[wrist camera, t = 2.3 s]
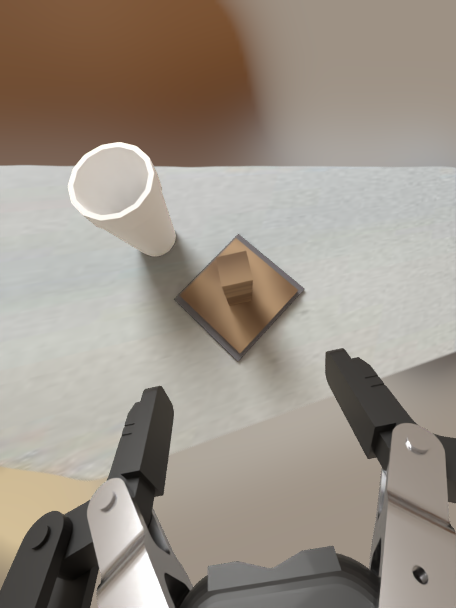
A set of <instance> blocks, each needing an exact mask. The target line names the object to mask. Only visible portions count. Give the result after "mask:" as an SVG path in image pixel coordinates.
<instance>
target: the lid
mask: <svg viewBox="0 0 456 608" xmlns="http://www.w3.org/2000/svg"><path fill="white" fill-rule="evenodd" d="M297 291H298V289H297V288H295V287H294V286H293V285H292V284H291V283H289V282H288V281H287V280H286V279H285V278H283V277H282V276H281V275H280V274H279V273H277V272H276V271H275V270H274V269H273V268H271V267H270V266H269V265H268V264H267V263H265V262H264V261H263V260H262V259H261V258H259V257H258V256H257V255H256V254H255V253H254V252H252V251H251V250H250V249H249V248H248V247H246V246H245V245H244V244H243V243H242V242H240V241H239V240H238V239H237V238H235V239H234V240H233V241H232V242H231V243H230V245H229V246H228V247H227V248H226V249H225V250H224V251H223V252H222V253H221V254H220V255H219V256H218V257H216V259H215V260H214V261H213V262H212V263H211V264H210V265H209V266H208V267H207V268H206V269H205V270H204V271H203V272H202V273H201V274H200V275H199V276H198V277H197V278H196V279H195V280H194V281H193V282H192V283H191V284H190V285H189V286H188V287H187V288H186V289H185V290H184V291H183V292H182V293H181V294H180V296H181V297H182V298H183V299H184V300H185V301H186V302H187V303H188V304H189V305H190V306H191V307H192V308H193V309H194V310H195V311H196V312H197V313H198V314H199V315H200V316H201V317H202V318H204V319H205V320H206V321H207V322H208V323H209V324H210V325H211V326H212V327H213V328H214V329H215V330H216V331H217V332H218V333H219V334H220V335H221V336H222V337H223V338H224V339H225V340H226V341H227V342H228V343H229V344H230V345H232V346H233V347H234V348H235V349H236V350H237V351H238V352H239V353H241V352H242V351H243V350H244V349H245V348H246V347H247V346H248V345H249V343H250V342H251V341H252V340H253V339H254V338H255V337H256V336H257V335H258V334H259V333H260V332H261V330H262V329H263V328H264V327H265V326H266V325H267V324H268V323H269V322H270V321H271V320H272V318H273V317H274V316H275V315H276V314H277V313H278V312H279V311H280V310H281V309H282V308H283V307H284V305H285V304H286V303H287V302H288V301H289V300H290V299H291V298H292V297H293V296H294V295H295V294H296V292H297Z"/></svg>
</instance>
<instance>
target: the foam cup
mask: <svg viewBox="0 0 456 608" xmlns="http://www.w3.org/2000/svg"><path fill="white" fill-rule="evenodd" d="M68 190H69V195H70V199H71V203H72V204H73V205H74V206H75V207H76V208H77V209H78V211H79V212H80V213H81V214H82V215H83V216H84V217H86V218H87V219H88V220H89V221H90V222H92V223H93V224H94V225H95V226H96V227H99V228H102V229H105V230H106V231H108V232H109V233H111V234H113V235H114V236H116V237H118V238H119V239H121V240H123V241H124V242H126V243H128V244H129V245H131V246H132V247H134V248H136V249H137V250H139V251H141V252H142V253H144V254H146V255H149V256H152V257H154V256H162V255H164V254H165V253H167V252H169V251H170V250H171V248H172V247H173V245H174V244H175V239H176V234H175V230H174V227H173V224H172V221H171V218H170V215H169V212H168V209H167V206H166V203H165V200H164V197H163V194H162V187H161V184H160V180H159V177H158V174H157V172H156V170H155V168H154V166H153V164H152V162H151V160H150V158H149V157H148V156H147V155H146V154H145V153H144V152H143V151H141V150H140V149H139V148H138V147H137V146H133V145H129V144H125V143H121V142H118V143H111V144H105V145H101V146H99V147H97V148H95V149H94V150H92V151H90V152H88V153H87V154H85V155H84V156H83V157H82V159H81V160H80V161H79V162H78V163H77V165H76V166H75V167H74V168H73V170H72V173H71V177H70V180H69V184H68Z"/></svg>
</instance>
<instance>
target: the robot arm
mask: <svg viewBox="0 0 456 608" xmlns="http://www.w3.org/2000/svg"><path fill="white" fill-rule="evenodd" d="M325 374H326V379H327V382H328V384H329V386H330V388H331V390H332V392H333V394H334V396H335V398H336V400H337V402H338V403H339V405H340V407H341V409H342V411H343V413H344V415H345V417H346V418H347V420H348V422H349V424H350V426H351V428H352V430H353V432H354V434H355V436H356V437H357V439H358V441H359V443H360V445H361V447H362V449H363V451H364V453H365V455H366V456H367V458H368V459H371V458H377V459H378V461H379V462H380V464H381V466H382V470H381V480H380V488H379V497H378V505H377V514H376V523H375V528H374V534H373V539H372V546H371V555H370V563H369V569H368V568H367V567H365V566H364V565H362V564H361V563H359V562H358V561H356V560H354V559H352V558H350V557H347V556H344V555H341V554H337V553H335V549H334V546H328V547H323V548H316V549H310V550H304V551H301V552H299V553H297V554H296V555H294V556H292V557H291V558H289V559H288V560H286V561H284V562H282V563H281V564H279V565H278V566H276V567H274V568H265V567H261V566H256V565H252V564H247V563H243V562H239V561H236V562H230V563H224V564H218V565H212V566H208V575H207V576H205V577H204V578H203V579H202V580H201V581H199V582H198V583H197V584H196V585H195V586H194V587H193V586H192V584H191V582H190V579H189V577H188V575H187V573H186V572H185V570H184V568H183V566H182V565H181V564H180V562H179V561H178V559H177V558H176V556H175V554H174V552H173V551H172V548H171V546H170V544H169V542H168V539H167V537H166V535H165V533H164V531H163V529H162V527H161V524H160V522H159V520H158V518H157V516H156V514H155V511H154V509H153V508H152V507H153V501H154V497H156V496H162V495H163V494H164V486H165V478H166V471H167V464H168V456H169V449H170V441H171V433H172V426H173V418H174V410H173V405H172V403H171V401H170V399H169V398H168V396H167V394H166V393H165V391H164V389H163V388H162V386H157V387H152V388H148V389H145V390H144V391H143V394H142V398H141V401H140V402H137V403H135V404H134V406H133V407H132V409H131V410H130V412H129V413H128V416H127V419H126V422H125V427H124V429H123V432H122V437H121V438H120V442H119V445H118V448H117V451H116V455H115V458H114V461H113V464H112V467H111V471H110V474H109V476H108V479H107V481H106V482H104V483H103V484H102V485H101V486H100V487H99V488H98V489H97V490H96V492H95V493H94V495H93V496H92V498H91V500H89V501H87V502H86V503H84V504H82V505H80V506H79V507H77V508H75V509H73V510H72V511H70V512H68V513H66V514H65V515H64V514H62V513H60V512H58V511H52V512H49V513H47V514H45V515H44V516H42V517H41V518H40V519H39V520H37V521H36V522H35V523H34V524H33V526H32V527H31V528H30V529H29V531H28V532H27V534H26V535H25V537H24V539H23V541H22V543H21V545H20V548H19V550H18V552H17V554H16V557H15V559H14V561H13V563H12V566H11V568H10V570H9V572H8V574H7V577H6V579H5V581H4V584H3V586H2V588H1V590H0V608H90V605H91V601H92V596H93V592H94V588H95V583H96V579H97V574H98V570H99V569H100V573H101V584H100V585H99V586H98V588H97V603H98V608H456V533H455V530H454V528H453V527H452V526H451V524H450V521H449V509H448V502H452V503H456V438H450V437H443V436H439V435H436V434H433V433H431V432H430V431H429V430H427V429H425V428H423V427H421V426H419V425H417V424H416V423H415V422H414V421H413V420H412V419H411V417H410V416H409V415H408V414H407V412H406V411H405V410H404V409H403V407H402V406H401V405H400V403H399V402H398V401H397V399H396V398H395V397H394V396H393V394H392V393H391V392H390V390H389V389H388V388H387V387H386V386H385V385H384V383H383V381H382V380H381V379H380V377H378V375H377V374H376V372H375V371H374V370H373V368H372V367H371V366H370V365H369V364H368V363H366V362H365V361H363V360H362V359H360V358H359V357H357V358H352V359H351V358H350V356H349V355H348V353H347V352H346V351H345V349H343V348H341V349H336V350H331V351H327V352H326V359H325Z"/></svg>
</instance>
